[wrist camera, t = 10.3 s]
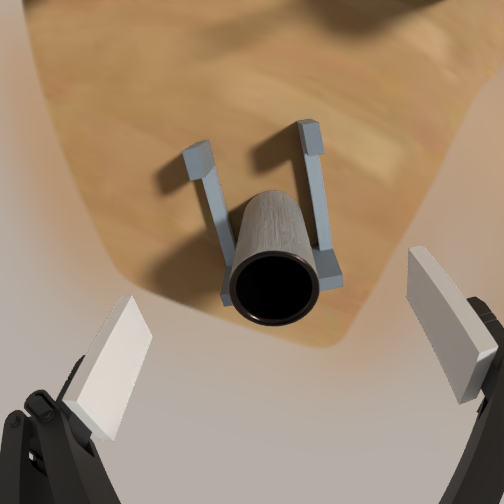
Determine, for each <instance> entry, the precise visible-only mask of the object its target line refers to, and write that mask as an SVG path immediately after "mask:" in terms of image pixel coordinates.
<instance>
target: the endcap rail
mask: <svg viewBox="0 0 504 504" xmlns="http://www.w3.org/2000/svg"><path fill="white" fill-rule="evenodd" d="M297 125H298V129H299V134H300V139H301V145H302V150H303V155H304V160H305V166H306V171H307V177H308V183H309V188H310V194H311V200H312V206H313V213H314V219H315V225H316V232H317V239H318V246H312V247H311V250H312V253H313V257H314V261H315V265H316V269H317V273H318V278H319V283H320V291H324V290H330V289H335V288H340V287H344V286H343V275H342V272H341V269H340V267H339V264H338V261H337V259H336V256H335V254H334V251H333V248H332V240H331V232H330V224H329V217H328V210H327V203H326V196H325V189H324V183H323V177H322V171H321V165H320V159H319V155H321V154H324V148H323V142H322V137H321V131H320V126H319V122H317V121H315V120H312V119H306V120H300V121H297ZM182 153H183V157H184V160H185V164H186V168H187V171H188V175H189V178H190V181H192V180H197V179H201V178H202V181H203V184H204V188H205V192H206V195H207V199H208V203H209V206H210V210H211V213H212V217H213V220H214V224H215V227H216V231H217V234H218V238H219V241H220V245H221V248H222V252H223V255H224V259H225V262H226V266H227V269H226V273H225V277H224V282H223V286H222V290H221V294H220V296H221V299H222V302H223V305H224V306H231V305H233V304H232V302H231V299H230V296H229V290H228V287H229V279H230V274H231V270H232V265H233V260H234V256H235V251H236V242H235V238H234V235H233V231H232V227H231V223H230V219H229V216H228V212H227V208H226V204H225V200H224V197H223V193H222V189H221V185H220V181H219V178H218V174H217V170H216V166H215V162H214V158H213V154H212V150H211V147H210V143H209V140H205V141H201V142H197V143H195V144H193V145H191V146H190V147H188V148H186V149H185V150H183V151H182Z"/></svg>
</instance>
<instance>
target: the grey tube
mask: <svg viewBox="0 0 504 504" xmlns="http://www.w3.org/2000/svg"><path fill="white" fill-rule="evenodd" d="M228 290H229V296H230V299H231V302H232V304H233V306H234V307H235V309H236V310H237V311H238V312H239V313H240V314H241V315H242V316H243V317H245V318H246V319H248V320H250V321H252V322H254V323H256V324H260V325H264V326H283V325H288V324H291V323H294V322H296V321H298V320H300V319H301V318H303V317H304V316H306V315H307V314H308V313H309V312H310V311H311V310H312V308H313V307H314V305H315V304H316V302H317V299H318V296H319V292H320V283H319V278H318V273H317V269H316V265H315V261H314V257H313V253H312V250H311V246H310V242H309V238H308V234H307V230H306V227H305V223H304V219H303V215H302V212H301V209H300V207H299V205H298V204H297V202H296V201H295V200H294V199H293V198H292V197H291V196H290V195H288V194H286V193H284V192H280V191H265V192H262V193H260V194H258V195H256V196H255V197H253V198H252V199H251V200H250V201H249V203H248V204H247V206H246V208H245V211H244V214H243V219H242V223H241V228H240V233H239V237H238V242H237V246H236V251H235V256H234V260H233V265H232V270H231V274H230V279H229V287H228Z"/></svg>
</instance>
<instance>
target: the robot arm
mask: <svg viewBox="0 0 504 504" xmlns="http://www.w3.org/2000/svg"><path fill="white" fill-rule="evenodd" d="M408 250H409V251H408V280H407V300H408V301H409V303H410V305H411V307H412V309H413V310H414V312H415V314H416V316H417V318H418V320H419V321H420V324H421V325H422V327H423V329H424V331H425V333H426V335H427V337H428V339H429V341H430V343H431V345H432V347H433V349H434V351H435V353H436V355H437V357H438V359H439V361H440V363H441V365H442V367H443V369H444V372H445V374H446V376H447V378H448V380H449V383H450V385H451V387H452V389H453V391H454V394H455V396H456V398H457V401H458V403H459V404H462V403H465V402H468V401H470V400H473V399H475V398H477V395H478V393H479V391H480V389H482V391H483V393H484V395H485V397H484V399H483V401H482V403H481V405H480V407H479V409H478V410H477V412H478V416H477V419H476V422H475V425H474V427H473V430H472V433H471V435H470V438H469V440H468V443H467V445H466V448H465V450H464V453H463V455H462V457H461V459H460V462H459V464H458V466H457V468H456V471H455V473H454V475H453V477H452V479H451V481H450V483H449V485H448V487H447V489H446V491H445V493H444V495H443V497H442V498H441V500H440V502H439V504H499V503H500V500H501V498H502V495H503V492H504V328H503V326H502V325H501V323H500V322H499V321H498V320H497V319H496V317H495V315H494V314H493V313H492V312H491V310H490V309H489V307H488V306H487V305H486V303H485V302H483V301H482V300H480V299H478V298H477V297H471V298H468V299H465V297H464V296H463V295H462V293H461V292H460V291H459V289H458V288H457V287H456V285H455V284H454V283H453V282H452V280H451V279H450V278H449V277H448V275H447V274H446V273H445V272H444V270H443V269H442V268H441V266H440V265H439V264H438V263H437V261H436V260H435V259H434V258H433V257H432V255H431V254H430V253H429V252H428V251H427V249H426V248H425V247H424V246H418V247H414V248H409V249H408ZM152 338H153V336H152V334H151V332H150V330H149V328H148V327H147V324H146V322H145V320H144V319H143V317H142V314H141V312H140V311H139V308H138V306H137V304H136V303H135V300H134V298H133V296H132V295H131V296H124V297H119V299H118V300H117V302H116V304H115V305H114V307H113V309H112V311H111V312H110V314H109V315H108V317H107V319H106V320H105V322H104V324H103V326H102V327H101V329H100V331H99V333H98V334H97V336H96V338H95V340H94V341H93V343H92V345H91V347H90V348H89V350H88V352H87V354H86V355H83V356H82V357H81V358H80V359H79V360H78V361H77V362H76V364H75V366H74V367H73V370H72V371H71V373H70V375H69V377H68V380H66V382H65V384H64V386H63V388H62V390H61V392H60V394H59V396H58V397H57V399H56V401H54V400H53V399H52V398H51V396H50V395H49V394H48V393H47V392H46V391H45V390H37V391H35V392H33V393H32V394H30V395H29V397H28V398H27V399H26V402H25V404H24V409H25V410H26V411H27V412H28V413H29V414H30V415H31V417H27V416H26V415H25V414H24V413H23V412H22V411H20V410H15V411H13V412H12V413H10V414H9V415H8V417H7V418H6V420H5V423H4V429H3V436H2V443H1V451H0V504H121V503H120V501H119V499H118V497H117V495H116V493H115V491H114V488H113V486H112V484H111V482H110V480H109V478H108V476H107V473H106V471H105V469H104V467H103V464H102V462H101V459H100V457H99V455H98V452H97V450H96V447H95V445H94V443H93V441H92V440H91V439H90V436H91V433H93V434H95V436H96V437H97V438H98V439H99V440H104V441H112V442H114V440H115V437H116V434H117V431H118V428H119V425H120V423H121V420H122V417H123V414H124V412H125V409H126V406H127V403H128V401H129V398H130V395H131V392H132V389H133V387H134V384H135V382H136V379H137V376H138V373H139V371H140V369H141V366H142V363H143V361H144V358H145V356H146V353H147V350H148V348H149V346H150V343H151V340H152ZM29 452H30V453H31V454H32V455H33V460H31V459H30V458H29Z"/></svg>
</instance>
